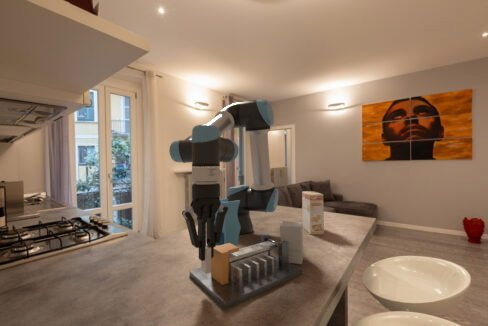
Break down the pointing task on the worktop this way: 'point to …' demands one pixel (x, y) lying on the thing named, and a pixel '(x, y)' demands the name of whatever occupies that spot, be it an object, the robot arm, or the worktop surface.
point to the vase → (230, 223)
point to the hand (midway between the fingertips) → (206, 271)
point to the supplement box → (293, 240)
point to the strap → (252, 250)
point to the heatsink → (249, 276)
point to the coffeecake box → (313, 212)
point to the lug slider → (221, 262)
